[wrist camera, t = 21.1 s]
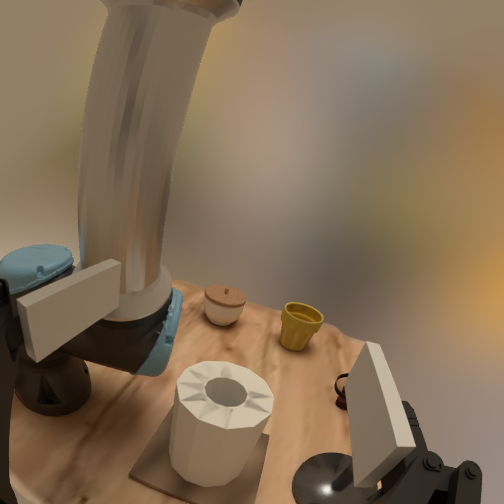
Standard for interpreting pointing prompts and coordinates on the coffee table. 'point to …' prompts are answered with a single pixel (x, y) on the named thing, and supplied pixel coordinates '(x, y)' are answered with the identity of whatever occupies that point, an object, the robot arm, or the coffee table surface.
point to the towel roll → (217, 421)
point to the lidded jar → (223, 304)
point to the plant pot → (299, 325)
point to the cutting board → (201, 498)
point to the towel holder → (329, 481)
